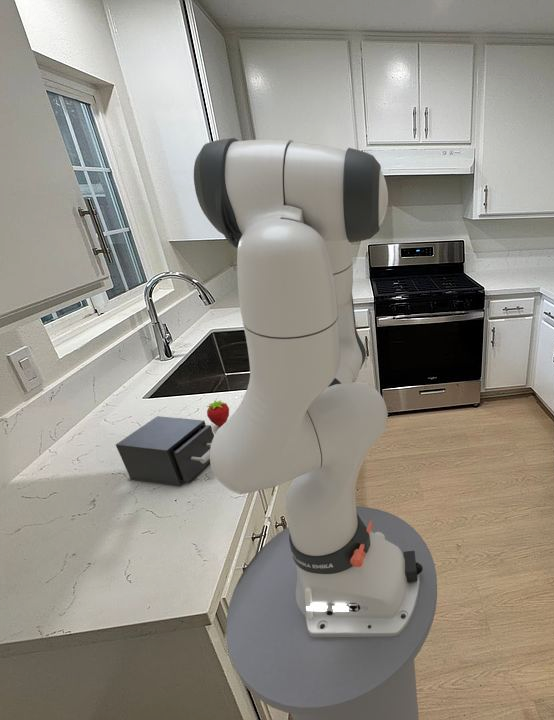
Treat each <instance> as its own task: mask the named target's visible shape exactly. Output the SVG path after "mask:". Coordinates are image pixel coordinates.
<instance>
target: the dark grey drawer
mask: <svg viewBox="0 0 554 720" xmlns="http://www.w3.org/2000/svg"><path fill="white" fill-rule="evenodd" d="M214 436H215V433H214V432H213V428H212V425H210V424H206V426H205V427H204V428H203V429H201V427H200V428H198V429H197V430H196V431H195V432H193V433H192V434H191V435H190V436H188V437H187V438H186V439H185V440H184V441H182V442H181V443H180V444H179V445H177V446H176V447H175V448H174V449H172V450H171V451H170V452H171V454H172V457H173V460H174V462H175V465H176V468H177V470H178V473H179V476H180V478H182V477H183V479H184V483H189V482H190V481H191V480H193V479H194V478H195V477H196V476H197V475H198V474H199V473H200V472H201V471H202V470H203V469H204V468H205V467H206V466H207V465H208V464H209V463H210V447H211V443H212V440H213V438H214Z"/></svg>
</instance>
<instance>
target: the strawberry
mask: <svg viewBox="0 0 554 720" xmlns="http://www.w3.org/2000/svg"><path fill="white" fill-rule="evenodd" d="M206 408H207V410H206V415H207V418H208V420H209V421H210V422H211V423H212V424H214V425H215V426H217V427H219V428H220V427H221V426H222V425H223V424H224V423H225V422H226V421H227V420H228V419H229V417H230V408H229V405H228V404H227V403H226V402H222V400H218V401H217V399H215V400H214V402H212V403H209V404H208V405H207V406H206Z"/></svg>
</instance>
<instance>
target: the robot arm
mask: <svg viewBox="0 0 554 720" xmlns="http://www.w3.org/2000/svg"><path fill="white" fill-rule="evenodd" d="M193 184H194V191H195V195H196V199H197V202H198V205H199V207H200V209H201V211H202V212H203V213H202V214H204V216H205V217H206V218H207V220H208V222H210V225H212V226H213V227H214V228H215V230H216V231H217V232H219V233H220V234H222V235H223V236H224V238H225V239H226V241H227V242H228V243H229V245H231V246H232V247H233V248H235V249H237V250H236V251H237V252H236V253H237V256H236V257H237V258H236V262H237V263H236V268H237V269H236V273H237V274H236V275H237V276H236V277H237V292H238V302H239V309H240V314H241V321H242V326H243V330H244V336H245V340H246V346H247V353H248V362H249V381H248V385H247V388H246V391H245V393H244V395H243V398H242V400H241V401H240V403H239V405H238V407H237V408H236V409H235V411H234V412H233V413H232V415H231V416H229V417H228V419H227V421H226V422H225V423H224V424H223V425H222V426H221V427H219V428H218V429H217V430H216V432H215V433H214V438H213V440H212V443H211V447H210V462H209V463H210V467H211V471H212V473H213V475H214V476H215V478H216V479H217V481H218V482H219V483H220V484H221V485H222V486H223V487H225V489H226V490H229V491H230V492H232V493H235V494H237V495H246V494H250V493H255V492H259V491H260V492H261V491H264V490H267V489H268V490H269V489H272V488H276V487H278V486H280V485H283V484H285V483H288V482H289V481H292V482H291V484H290V485H289V486H288V489H287V490H286V493H285V498H284V502H283V511H284V514H285V519H286V523H287V527H289V531H290V534H289V542H290V547H291V552H292V556H293V559H294V561H295V563H296V565H297V586H296V602H297V605H298V608H299V610H300V611H301V613H302V614H303V615H304V617H305V619H306V623H307V630H308V633H309V635H310V636H311V637H394V636H398V635H399V634H400V633H401V632H402V631H403V630H404V629H405V628H406V626H407V625H408V623H409V621H410V620H411V617H412V615H413V613H414V610H415V607H416V603H417V599H418V594H419V586H420V576H419V574H420V573H421V572H422V570H423V567H422V565H421V564H419V563H417V562H416V560H415V551H406V552H403V553H402V551H401V550H400V549H399V547H398V546H396V545H394V544H392V543H391V542H389V541H387V540H385V536H384V534H383V533H381V532H376V533H373V532H371V529H372V524H371V523H372V520H370V522H369V525H368V527H367V528H366V526H365V524H364V523H363V521H362V520H361V518H360V517H359V515H358V514H357V512H356V507H357V504H356V503H357V502H356V486H357V485H356V484H357V480H358V477H359V475H360V471H361V468H362V466H363V464H364V462H365V460H366V459H367V456H368V455H369V453H370V451H371V450H372V448H373V447H374V446H375V444H376V443H377V442H378V441H379V440H380V439H381V437H382V436H383V435H384V434H385V431H386V428H387V425H388V415H389V414H388V408H387V405H386V401H385V400H384V397H383V396H382V395H381V393H380V392H379V390H378V389H376V388H375V387H374V386H373V385H372V384H370V383H369V382H367V381H357V379H358V376H359V374H360V371H361V369H362V367H363V365H364V363H365V361H366V357H367V351H366V347H365V345H364V343H363V341H362V340H361V338H360V335H359V333H358V330H357V324H356V314H355V305H354V297H353V285H354V262H353V260H354V259H353V248H352V244H353V243H357V242H362V241H367V240H370V239H372V238H373V237H375V235H376V234H378V232H380V231H381V225H382V224H383V222H384V220H385V218H386V214H387V210H388V205H389V191H388V186H387V182H386V178H385V176H384V174H383V171H382V166H381V163H380V162H379V161H378V160H377V159H376V157H375V156H374V155H373V154H371V153H368V152H367V151H363V150H360V149H356V148H352V147H348V148H347V149H342V148H337V147H332V146H328V145H327V146H326V145H323V144H322V145H321V144H315V143H308V142H296V141H293V140H292V139H281V138H280V139H277V138H268V139H264V138H263V139H246V140H239V139H237V138H235V137H232V138H222V139H217V140H213V141H209V142H207V143H204V144H203V146H202V147H201V149H200V151H199V152H198V154H197V155H196V157H195V160H194V166H193ZM403 554H404V556H403ZM403 616H404V617H406V618H405V619H402V618H401V617H403ZM323 626H324V627H325V628H324V629H321V627H323ZM369 628H370V629H369Z"/></svg>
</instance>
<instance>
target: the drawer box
mask: <svg viewBox="0 0 554 720" xmlns="http://www.w3.org/2000/svg"><path fill="white" fill-rule="evenodd" d="M206 425H207V424H206V421H205V420H202V419H193V418H182V417H171V416H159V415H157V416H156V417H154V418H153V419H151V420H149V421H148V422H146V423H145V424H143V425H142V426H140V427H139V428H138V429H136V430H135V431H133V432H132V433H131V434H128V436H126V437H124V438H122V440H120V441H118V442H117V443H115V447H116V449H117V452H118V453H119V456H120V458H121V460H122V462H123V465H124V467H125V469H126V472H127V474H128V476H129V479H130V480H135V481H142V482H148V483H156V484H162V485H163V484H164V485H170V486H178V487H181V486H182V485H183V484H184V483H185V482H184V479H183V477H182V478H180V476H179V473H178V470H177V468H176V465H175V462H174V460H173V457H172V454H171V452H170V451H171V450H172V449H174V448H175V447H176V446H177V445H179V444H180V443H181V442H182V441H184V440H185V439H186V438H187V437H188V436H190V435H191V434H192V433H193V432H195V431H196V430H197V429H198V428H200V427H201V429H203V428H204V427H205V426H206Z"/></svg>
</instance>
